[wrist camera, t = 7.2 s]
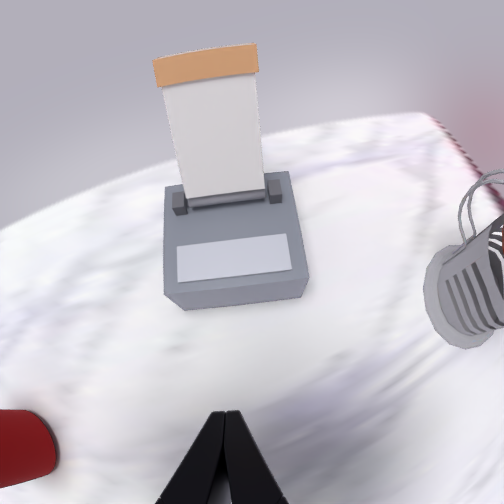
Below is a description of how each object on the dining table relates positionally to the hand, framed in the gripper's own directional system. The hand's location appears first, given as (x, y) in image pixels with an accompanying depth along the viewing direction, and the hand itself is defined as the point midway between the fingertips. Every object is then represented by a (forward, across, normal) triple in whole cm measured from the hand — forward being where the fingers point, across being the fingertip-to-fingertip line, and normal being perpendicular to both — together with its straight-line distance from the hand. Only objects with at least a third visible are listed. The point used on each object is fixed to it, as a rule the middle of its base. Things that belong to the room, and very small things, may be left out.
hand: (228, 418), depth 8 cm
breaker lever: (+14, 0, -4) cm, 15 cm away
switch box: (+17, 0, +2) cm, 17 cm away
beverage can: (+6, +21, +14) cm, 26 cm away
